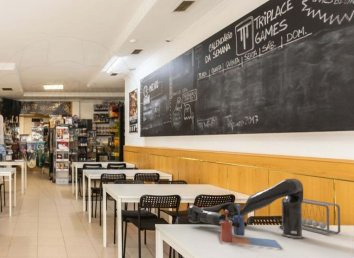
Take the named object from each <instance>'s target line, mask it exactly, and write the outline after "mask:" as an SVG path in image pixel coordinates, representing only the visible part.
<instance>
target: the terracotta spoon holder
mask: <svg viewBox="0 0 354 258" xmlns="http://www.w3.org/2000/svg"><path fill="white" fill-rule="evenodd" d="M228 212H229V211H228V210H225V213H226V221H221V227H220V235H221V240H220V242H221V241H223V242H222V243H227V242H232V236H233V227H232V222H229V221H227V213H228ZM225 213H224V214H225Z"/></svg>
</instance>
